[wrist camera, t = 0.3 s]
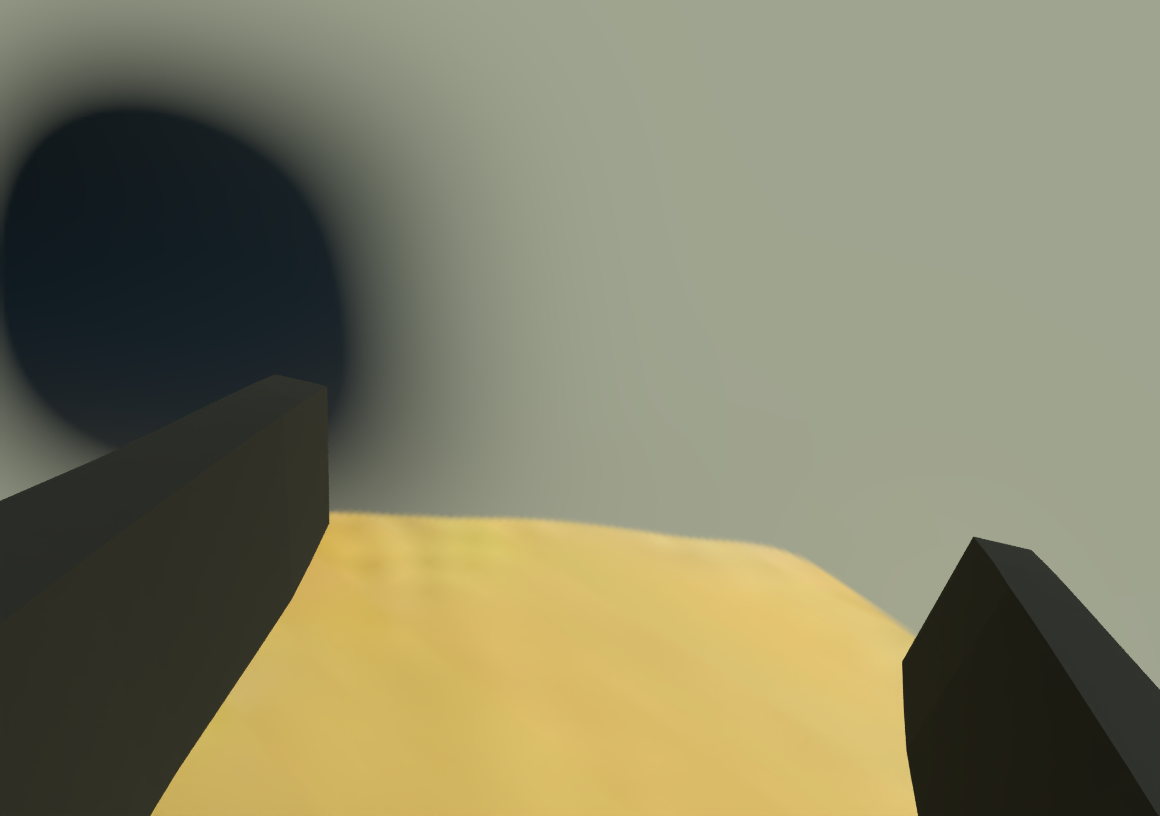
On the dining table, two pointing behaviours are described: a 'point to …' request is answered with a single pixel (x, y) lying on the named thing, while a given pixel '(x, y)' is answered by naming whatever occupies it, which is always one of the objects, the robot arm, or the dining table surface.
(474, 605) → the dining table surface
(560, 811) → the dining table surface
